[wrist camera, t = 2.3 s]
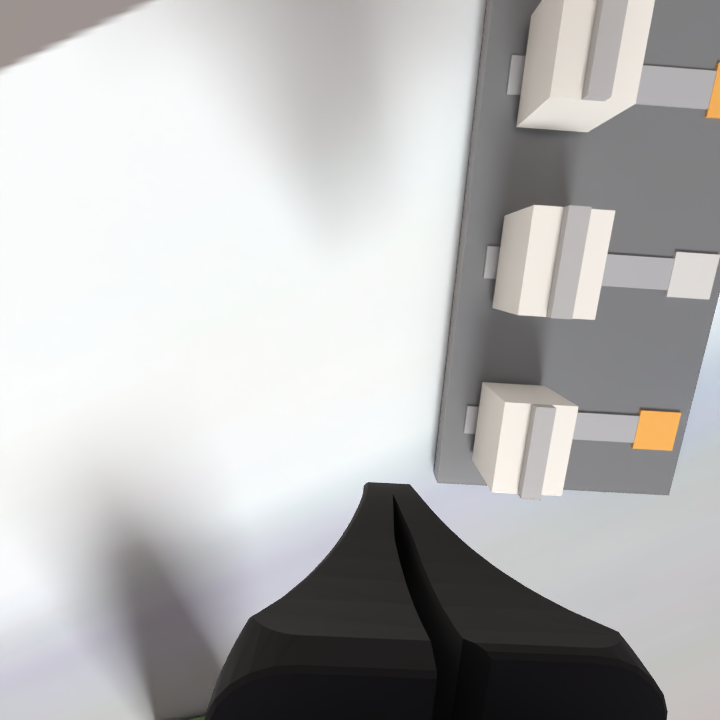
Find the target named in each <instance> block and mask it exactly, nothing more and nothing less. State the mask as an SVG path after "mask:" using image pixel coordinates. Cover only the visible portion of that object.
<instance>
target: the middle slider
mask: <svg viewBox="0 0 720 720" xmlns="http://www.w3.org/2000/svg"><path fill="white" fill-rule="evenodd" d="M614 216H615V210H600V209H592V207H587V206H573V205H569V206H566V207H557V206H543V205H532V206H530V207H527V208H524V209H521V210H519V211H516V212H513V213H510V214H508V215H505V216H504V223H503V231H502V238H501V246H500V253H499V261H498V269H497V276H496V284H495V291H494V299H493V306H492V308H494V309H498V310H501V311H505V312H508V313H512V314H515V315H523V316H539V317H548V318H556V319H586V320H595V317H596V312H597V306H598V301H599V296H600V290H601V285H602V280H603V274H604V269H605V264H606V258H607V253H608V248H609V242H610V237H611V232H612V227H613V221H614Z"/></svg>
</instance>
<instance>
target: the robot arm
mask: <svg viewBox="0 0 720 720" xmlns="http://www.w3.org/2000/svg"><path fill="white" fill-rule="evenodd" d="M204 720H667V707H666V703H665V699H664V695H663V693H662V691H661V690H660V688H659V687H658V685H657V684H656V682H655V680H654V679H653V678H652V676H651V675H650V673H649V672H648V671H647V669H646V668H645V666H644V665H643V664H642V662H641V661H640V659H639V658H638V657H637V655H636V654H635V653H634V651H633V650H632V649H631V647H630V646H629V645H628V643H627V642H626V641H625V639H624V638H623V637H622V636H621V635H620V633H619V632H617V631H615V630H613V629H611V628H608V627H606V626H604V625H601V624H599V623H597V622H595V621H592V620H590V619H588V618H586V617H583V616H581V615H579V614H576V613H574V612H572V611H570V610H568V609H566V608H564V607H562V606H560V605H558V604H556V603H554V602H552V601H550V600H549V599H547V598H545V597H543V596H541V595H539V594H537V593H536V592H534V591H532V590H531V589H529V588H527V587H525V586H524V585H522V584H521V583H519V582H517V581H516V580H514V579H513V578H511V577H510V576H508V575H506V574H505V573H503V572H502V571H500V570H499V569H498V568H496V567H495V566H493V565H492V564H491V563H489V562H488V561H487V560H485V559H484V558H483V557H482V556H480V555H479V554H478V553H476V552H475V551H474V550H473V549H471V548H470V547H469V546H468V545H467V544H465V543H464V542H463V541H462V540H461V539H460V538H459V537H458V536H457V535H456V534H455V533H454V532H452V531H451V530H450V529H449V528H448V527H447V526H446V525H445V524H444V523H443V522H442V521H441V520H440V519H439V517H438V516H437V515H436V514H435V513H434V512H433V511H432V510H431V509H430V508H429V506H428V505H427V504H426V503H425V502H424V501H423V499H422V498H421V497H420V496H419V495H418V493H417V492H416V491H415V490H414V489H413V488H412V486H411V485H410V484H392V483H373V482H368V483H366V484H365V485H364V490H363V495H362V498H361V501H360V504H359V506H358V508H357V510H356V512H355V514H354V516H353V518H352V520H351V522H350V524H349V525H348V527H347V528H346V530H345V532H344V533H343V535H342V537H341V538H340V539H339V541H338V542H337V544H336V545H335V546H334V548H333V549H332V550H331V551H330V553H329V554H328V555H327V556H326V557H325V559H324V560H323V561H322V562H321V563H320V564H319V565H318V566H317V567H316V568H315V569H314V570H313V571H312V572H311V573H310V574H309V575H308V576H307V577H306V578H305V579H304V580H303V581H302V582H300V583H299V584H298V585H297V586H296V587H294V588H293V589H292V590H291V591H290V592H288V593H287V594H286V595H285V596H283V597H282V598H281V599H279V600H278V601H276V602H274V603H273V604H271V605H270V606H268V607H267V608H265V609H263V610H262V611H260V612H259V613H257V614H255V615H253V616H252V617H250V618H249V620H248V621H247V623H246V625H245V626H244V628H243V630H242V631H241V633H240V635H239V637H238V638H237V640H236V642H235V644H234V646H233V648H232V650H231V652H230V654H229V656H228V658H227V660H226V662H225V664H224V666H223V668H222V671H221V673H220V675H219V678H218V680H217V683H216V686H215V689H214V692H213V695H212V698H211V701H210V703H209V706H208V709H207V712H206V715H205V719H204Z"/></svg>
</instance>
